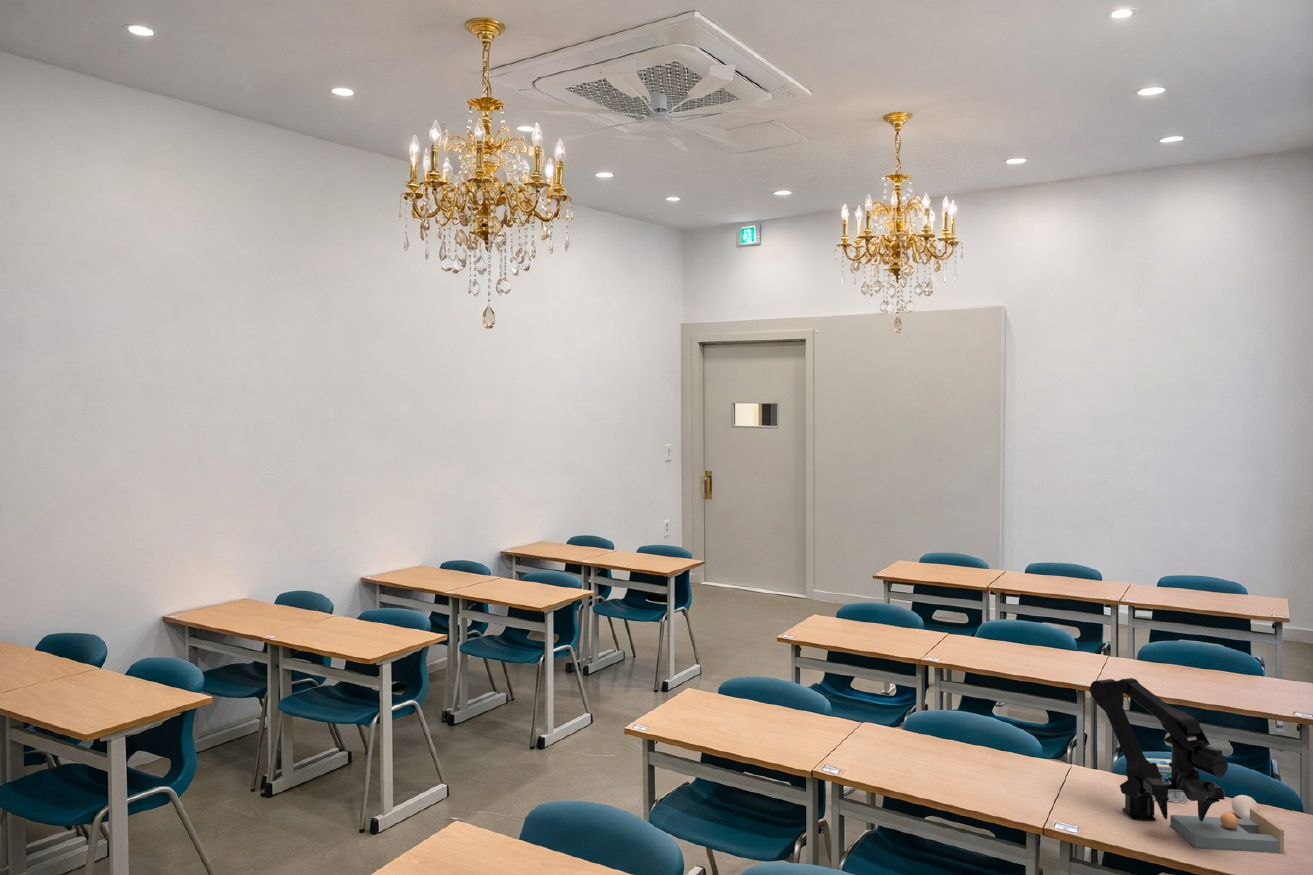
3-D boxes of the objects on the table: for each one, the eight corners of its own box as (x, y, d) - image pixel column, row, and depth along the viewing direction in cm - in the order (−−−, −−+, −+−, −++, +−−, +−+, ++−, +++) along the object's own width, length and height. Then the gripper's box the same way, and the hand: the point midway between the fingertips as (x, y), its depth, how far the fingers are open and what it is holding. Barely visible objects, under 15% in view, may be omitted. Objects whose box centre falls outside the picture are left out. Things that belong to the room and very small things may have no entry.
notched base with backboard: (1195, 847, 222) (1195, 825, 222) (1170, 825, 234) (1170, 804, 235) (1283, 852, 219) (1283, 829, 219) (1253, 829, 232) (1253, 808, 232)
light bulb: (1263, 815, 231) (1254, 789, 241) (1235, 814, 234) (1227, 789, 244) (1267, 835, 232) (1257, 809, 242) (1239, 834, 235) (1231, 809, 245)
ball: (1225, 830, 225) (1225, 816, 225) (1217, 824, 229) (1217, 809, 229) (1241, 831, 225) (1241, 816, 225) (1232, 824, 229) (1232, 810, 229)
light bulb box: (1151, 801, 250) (1151, 765, 250) (1141, 791, 257) (1141, 757, 257) (1189, 803, 249) (1189, 767, 249) (1178, 794, 256) (1178, 759, 256)
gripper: (1162, 772, 221) (1162, 831, 221) (1237, 776, 219) (1236, 835, 219) (1142, 756, 232) (1141, 812, 232) (1213, 760, 230) (1212, 816, 230)
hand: (1183, 819), depth 228 cm, fingers open, 9 cm apart
